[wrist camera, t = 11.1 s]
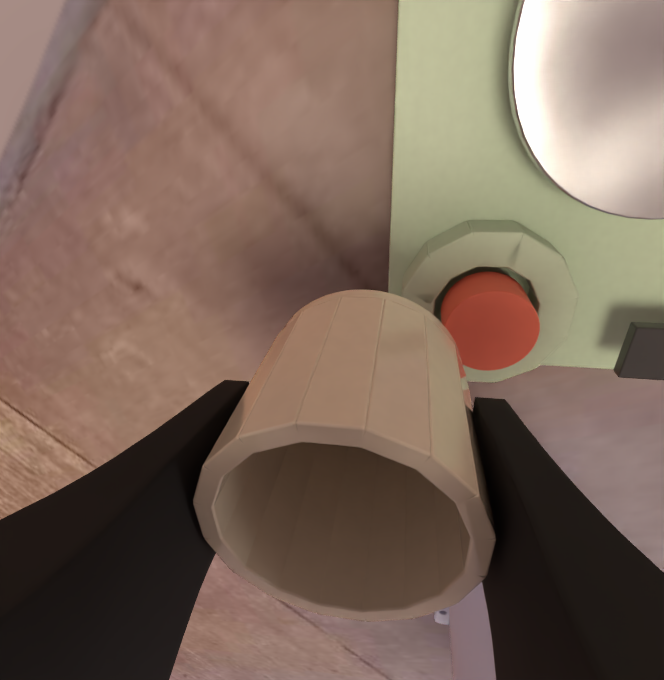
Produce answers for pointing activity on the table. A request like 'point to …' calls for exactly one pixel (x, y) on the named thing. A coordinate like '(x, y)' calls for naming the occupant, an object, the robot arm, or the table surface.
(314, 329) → the cup
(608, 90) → the weighing plate
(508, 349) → the tare button
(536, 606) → the robot arm
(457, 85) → the scale
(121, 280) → the table surface
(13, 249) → the table surface
